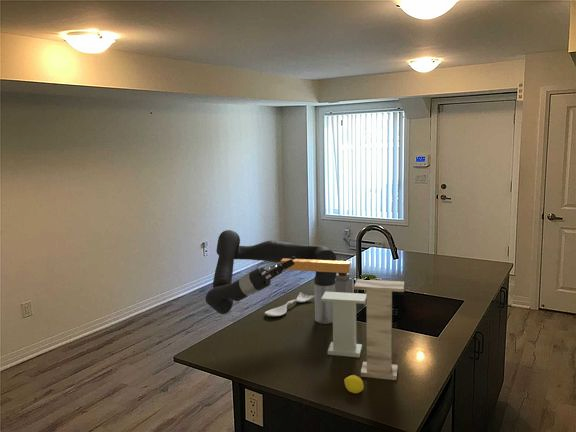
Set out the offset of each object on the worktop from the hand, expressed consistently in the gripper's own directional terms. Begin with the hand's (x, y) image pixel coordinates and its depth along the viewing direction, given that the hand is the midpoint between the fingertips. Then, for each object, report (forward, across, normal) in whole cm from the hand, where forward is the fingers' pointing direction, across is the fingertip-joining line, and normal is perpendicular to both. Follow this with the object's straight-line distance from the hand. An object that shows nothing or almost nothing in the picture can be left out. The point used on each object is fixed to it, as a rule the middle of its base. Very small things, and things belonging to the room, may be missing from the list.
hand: (293, 260), depth 167 cm
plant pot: (-4, -83, -43) cm, 93 cm away
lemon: (0, +14, -45) cm, 47 cm away
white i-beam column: (-6, -14, -42) cm, 44 cm away
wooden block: (+5, 0, -6) cm, 8 cm away
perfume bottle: (-13, -62, -38) cm, 74 cm away
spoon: (-35, -54, -26) cm, 69 cm away
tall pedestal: (+6, 0, -48) cm, 49 cm away
